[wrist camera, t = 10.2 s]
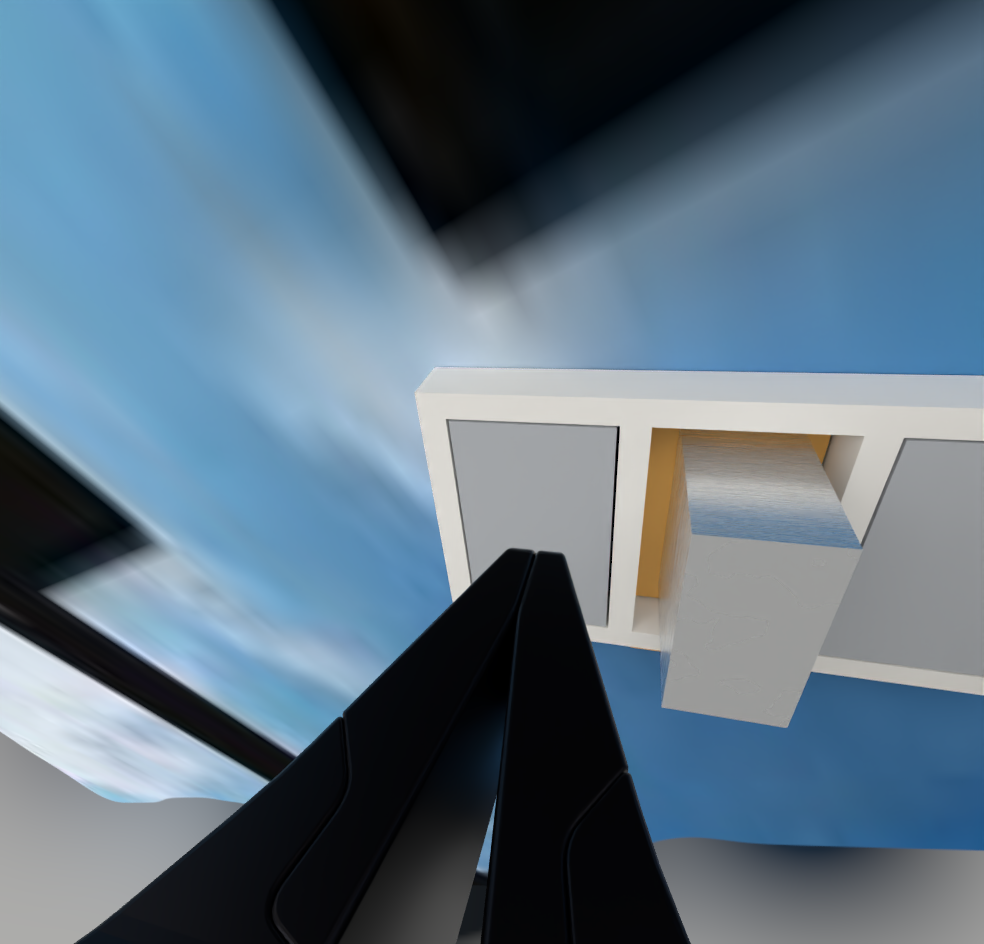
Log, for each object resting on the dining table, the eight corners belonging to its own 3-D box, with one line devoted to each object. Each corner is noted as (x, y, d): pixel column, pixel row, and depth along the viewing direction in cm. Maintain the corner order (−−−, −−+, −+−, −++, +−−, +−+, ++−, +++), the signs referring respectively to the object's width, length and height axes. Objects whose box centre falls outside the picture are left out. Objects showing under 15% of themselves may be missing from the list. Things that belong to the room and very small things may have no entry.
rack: (1175, 378, 15) (1247, 416, 13) (982, 655, 22) (1012, 704, 20) (434, 367, 20) (414, 392, 18) (469, 592, 27) (457, 626, 25)
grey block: (804, 429, 18) (862, 549, 13) (756, 593, 22) (787, 728, 17) (680, 424, 19) (692, 534, 14) (658, 582, 23) (661, 707, 18)
